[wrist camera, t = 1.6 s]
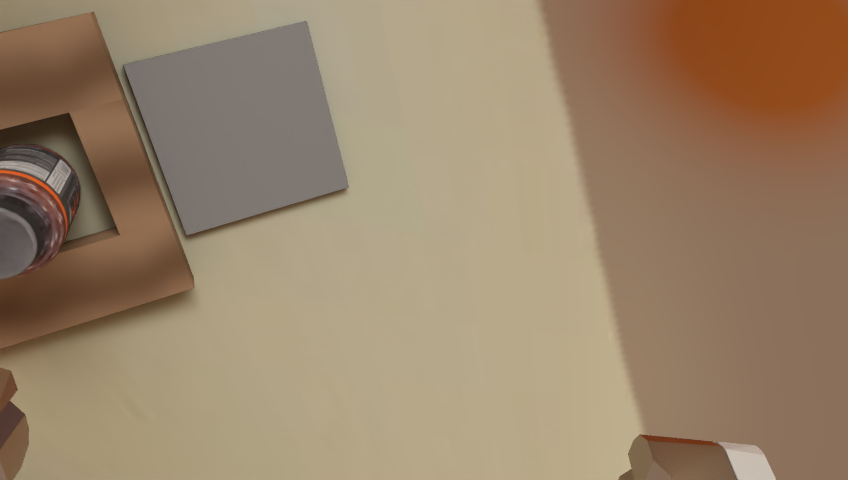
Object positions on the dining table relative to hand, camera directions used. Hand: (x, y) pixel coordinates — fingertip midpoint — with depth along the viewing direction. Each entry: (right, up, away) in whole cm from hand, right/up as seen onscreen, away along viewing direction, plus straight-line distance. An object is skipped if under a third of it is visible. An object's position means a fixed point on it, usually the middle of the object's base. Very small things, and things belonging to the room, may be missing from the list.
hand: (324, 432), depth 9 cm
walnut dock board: (-24, +6, +36) cm, 44 cm away
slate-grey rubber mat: (-11, +10, +39) cm, 42 cm away
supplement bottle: (-24, +6, +36) cm, 44 cm away
